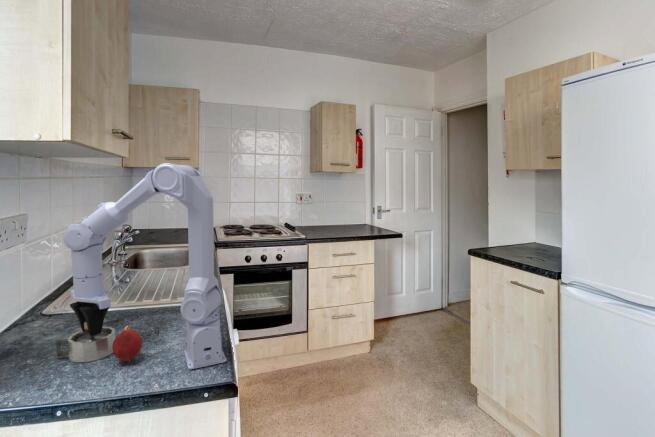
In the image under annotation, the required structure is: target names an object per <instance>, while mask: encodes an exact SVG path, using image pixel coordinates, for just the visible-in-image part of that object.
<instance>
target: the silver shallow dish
mask: <svg viewBox="0 0 655 437" xmlns="http://www.w3.org/2000/svg"><path fill="white" fill-rule="evenodd" d="M101 332H104V333H107V334H108V336H106V337H104V338H101V339H98V340H94V341H88V342H77V339H78V338H80V337H81V336H84V335H87V334H89V333H86V332H85V333H84V332H83V331H82V330H79V331H77V332H75V333H73V334H71V335H69V336H68V338H66V339H60V340H59V339H58V340H56V342H55V343H56V344H55V346H56V347H55V348H56V357H57V358H60V357H66V356H68V358H69V360H70V361H71V362H72V363H77V364H81V363H91V362H96V361H99V360H102V359H104V358H107V357H109V356H110V355H112V354H113V349H112V346H113V342H114V340H115V338H116V337H117V336H116V328H114V327H111V326H102V331H101ZM65 345H67V349H66V350H63V346H65Z"/></svg>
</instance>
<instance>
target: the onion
mask: <svg viewBox="0 0 655 437" xmlns="http://www.w3.org/2000/svg"><path fill="white" fill-rule="evenodd" d="M142 348H143V339H142V337H141V335H140V334H139V333H138V332H137V331H135V330H133V329H131V326H129V325H126V326H125V327H124V328H123V330H122V331H121V332H120V333H119V334H117V336H116V338H115V340H114V342H113V346H112V349H113V353H112V354H113V355H114V357H115V358H117V359H119V360H120V361H122V362H131V361H132V360H133V359H135V358H136V356H138V355H139V353H140V352H141V350H142Z"/></svg>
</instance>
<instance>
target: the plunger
mask: <svg viewBox="0 0 655 437" xmlns="http://www.w3.org/2000/svg"><path fill="white" fill-rule="evenodd" d="M84 330H85V332H86V333H89V331H88V327H87V322H86V321H84ZM106 336H108V334H107V333H104V332H101V333H100V334H97V335H94V336H90V334H87V335H84V336H81V337H80V338H78V339H77V342H88V341H94V340H98V339H101V338H104V337H106Z"/></svg>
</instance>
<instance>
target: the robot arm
mask: <svg viewBox="0 0 655 437" xmlns="http://www.w3.org/2000/svg"><path fill="white" fill-rule="evenodd" d="M158 194H165V195H168V196H171V197H173V198H175V199H176V200H177V201H179V202H180V203H181V204H182V205H183V206H184V207H186V208H187V229H188V230H187V232H188V234H187V236H188V237H187V238H188V239H187V241H188V280H187V283H186V286H185V288H184V296H183V300H182V302H181V304H180V309H179V310H180V314H181V316H182V318H183V319H184V320H185V321H186V322H185V323H186V326H185V327H186V346H187V347H186V348H185V349H184V350H183V351H184V356H185V361H186V365H187V370H194V369H195V370H196V369H199V368H203V367H209V366H214V365H217V364H223V363H226V362H227V357H226V355H225V353H224V350H223V347H222V346H223V345H222V335H221V317H220V316H221V315H220V310H219V307H220V306H221V305H222V303H223V299H224V296H223V292H222V290H221V289H220V285H219V284H220V282H219V279H218V278H217V277H216V276H215V258H214V257H215V250H214V248H215V245H214V242H215V241H214V232H215V231H214V200H213V196H212V193H211V192H210V190H209V189H208V187H207V184H205V182H204V178H203V175H202V173H200V172H199V171H198V170H196V169H195V168H194V167H193V166H190V165H188V164H174V163H171V162H164V163H161V164H158V166H156V167H155V168H154V169H152V170H150V171H148V172H147V173H146V174H145V176H144V177H143V178H142V179H141V180H140V181H139V182H137V183H136V184H135V185H134V186H133V187H132V188H131V189H130V190H128V192H126V193H125V194H124V195H122V197H121V198H119V199H118V200H117V201H116V202H114V201H107V202H101V203H100V204H98V205H97V208H98V209H96V210H95V211H93V213H91V214H90V215H89V216H87V215H86V216H84V217H83V218H82V219H81V220H82V221H81V223H72V224H69V225H68V227H67V228H65V230H64V232H63V236H62V237H63V238H62V239H63V242H64V244H65V245H66V247H67V248H68V249H70V252H71V256H70V257H71V269H72V280H73V281H72V282H73V283H72V284H73V289H70V291H69V292H70V298H71V299H73V301H74V302H72V303H70V304H69V307H70V308H71V309H72V311H73V312H74V314H75V316H76V317H77V319H78V320H77V321H78V322H79V325H80V328H81V331H83V332H84V333H85V330H84V321H86V322H87V327H88V331H89V334H90V336H94V335H97V334H100V333H101V331H102V327H104V322H105V318H106V315H107V313H108V311H109V309H110V307H111V298H110V297H109V296H108V294H110V289H108V288H107V289H106V288H105V284H104V267H103V254H102V253H103V251H104V248H103V247H104V244H105V243H106V241H107V238H108V236H109V235H111V234H112V233H114V232H115V231H116V230H117V229H119V228H120V227H122V226H123V225H124V224H125V223H127V221H128V219H129V218H128V217H129V216H128V214H129V213H130V212H132V211H133V210H135V209H136V208H138V207H139V206H141V205H142V204H143V203H145V202H147V201H148V200H150V199H151V198H152V197H154V196H155V195H158ZM111 308H112V307H111Z"/></svg>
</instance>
